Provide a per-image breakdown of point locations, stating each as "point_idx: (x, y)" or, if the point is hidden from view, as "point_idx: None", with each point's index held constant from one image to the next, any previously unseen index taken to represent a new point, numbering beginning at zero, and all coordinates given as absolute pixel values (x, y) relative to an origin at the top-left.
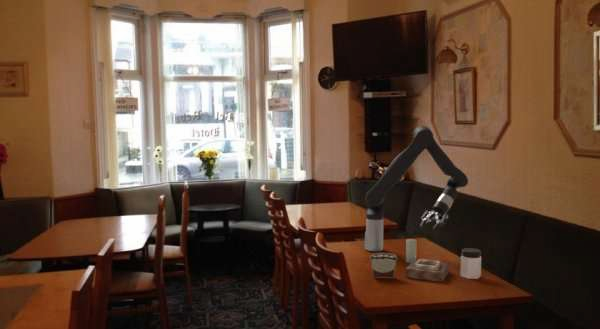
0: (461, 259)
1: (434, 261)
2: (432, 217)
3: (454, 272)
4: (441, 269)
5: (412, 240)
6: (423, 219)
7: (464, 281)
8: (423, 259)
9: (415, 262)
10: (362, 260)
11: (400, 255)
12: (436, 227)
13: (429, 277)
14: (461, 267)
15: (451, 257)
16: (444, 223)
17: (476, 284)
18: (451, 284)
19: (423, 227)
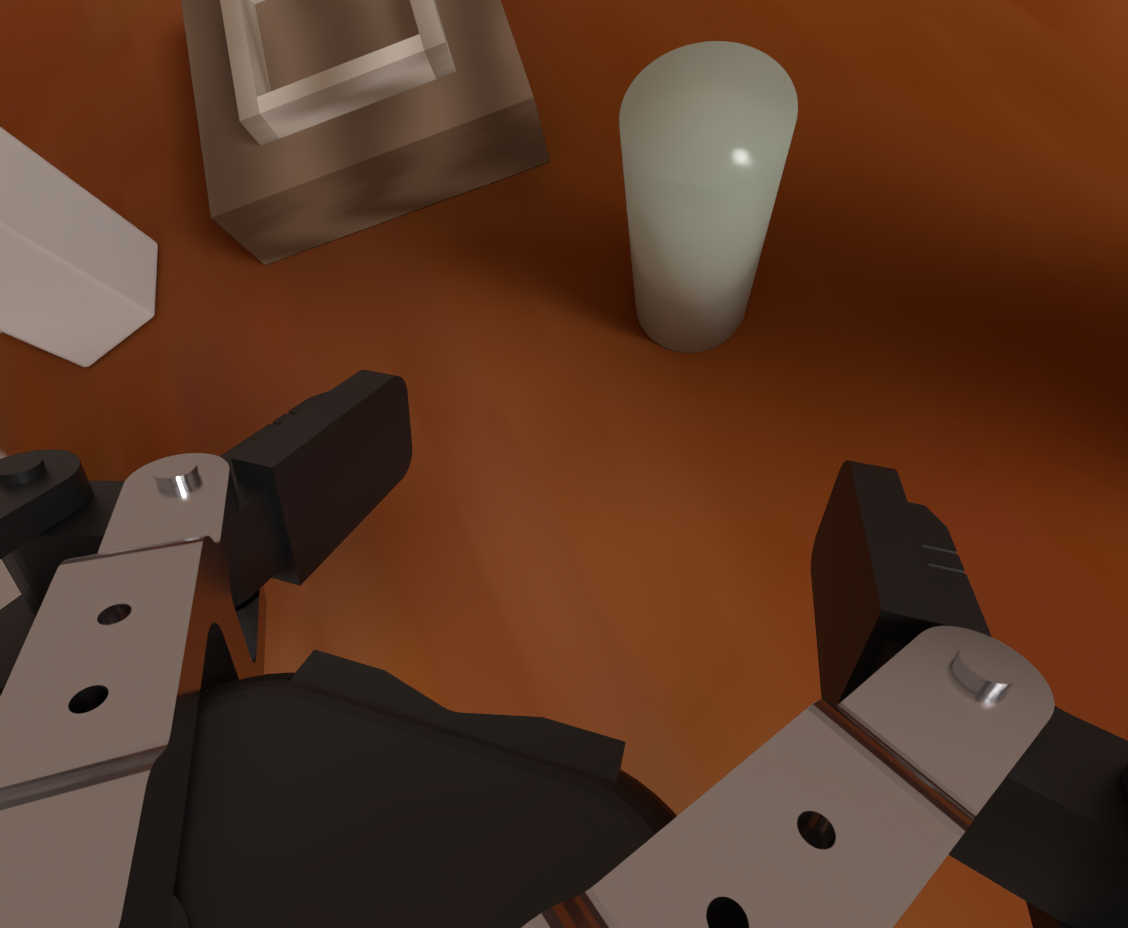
0: (12, 138)
1: (293, 84)
2: (468, 761)
3: (225, 294)
4: (212, 40)
5: (680, 110)
6: (984, 660)
7: (107, 159)
8: (404, 58)
9: (479, 39)
10: (1107, 4)
11: (960, 445)
12: (289, 414)
13: None
14: (86, 193)
15: None
16: (5, 615)
17: None
18: (164, 51)
19: (816, 586)
